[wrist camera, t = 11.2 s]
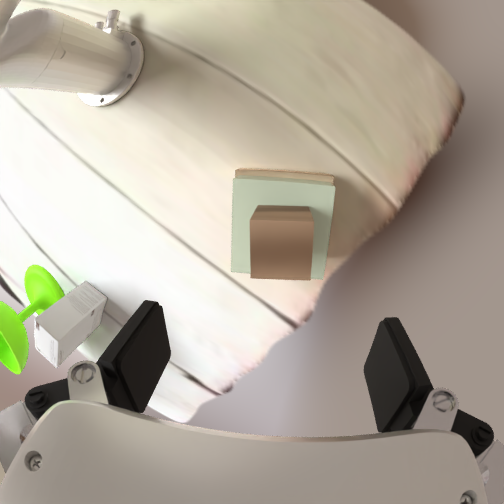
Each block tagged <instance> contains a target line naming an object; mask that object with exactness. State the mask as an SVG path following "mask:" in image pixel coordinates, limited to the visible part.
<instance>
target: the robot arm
mask: <svg viewBox="0 0 504 504" xmlns="http://www.w3.org/2000/svg"><path fill="white" fill-rule="evenodd" d="M20 1H21V0H0V88H29V89H43V90H54V91H63V92H71V93H78V95H79V97H80V98H81V100H82V101H83V102H84V103H86V104H88V105H91V106H100V107H101V106H106V105H109V104H111V103H114V102H115V101H117V100H118V99H120V98H121V97H122V96H123V95H125V94H126V93H127V92H128V90H129V89H130V88H131V87H132V85H133V84H134V83H135V81H136V79H137V77H138V76H139V74H140V71H141V68H142V65H143V60H144V50H143V45H142V43H141V41H140V40H139V39H138V38H137V37H136V36H135V35H133V34H132V33H129V32H126V31H118V28H119V27H118V26H117V22H118V19H119V14H120V11H119V10H111V11H109V12H108V15H107V19H106V26H105V27H104V28H103V24H104V23H103V22H97V23H96V24H95V27H94V26H92V25H90V24H87V23H85V22H83V21H80V20H78V19H76V18H73V17H71V16H68V15H66V14H63V13H60V12H58V11H55V10H52V9H47V8H40V9H33V10H29V11H26V12H24V13H21V14H19V15H16V16H14V17H12V18H10V17H11V15H12V14H13V11H14V10H15V8H16V7H17V5H18V4H19V2H20ZM170 356H171V350H170V345H169V340H168V335H167V330H166V324H165V319H164V313H163V308H162V306H160V305H159V303H158V302H155V301H148V300H145V301H144V302H143V303H142V304H141V305H140V307H139V308H138V309H137V310H136V312H135V313H134V314H133V315H132V317H131V318H130V319H129V320H128V322H127V323H126V324H125V325H124V327H123V328H122V329H121V331H120V332H119V333H118V334H117V336H116V337H115V338H114V340H113V341H112V342H111V343H110V345H109V346H108V347H107V349H106V350H105V351H104V353H103V354H102V355H101V357H100V358H99V360H98V361H97V363H94V362H92V361H80V362H78V363H76V364H74V365H73V366H72V367H71V368H70V369H69V371H68V378H66V379H63V380H59V381H56V382H52V383H48V384H45V385H41V386H37V387H34V388H32V389H31V390H30V391H29V392H28V393H27V394H26V397H25V402H22V401H21V400H20V401H18V402H17V403H15V404H13V405H11V406H9V407H8V408H6V409H4V410H2V411H0V461H1V464H2V466H3V468H4V471H5V473H6V475H5V476H4V479H3V481H2V483H1V485H0V504H502V503H503V502H504V445H503V444H502V443H501V442H500V441H498V440H496V441H494V440H493V439H494V433H493V430H492V428H491V427H490V426H489V425H488V424H487V423H485V422H483V421H481V420H479V419H477V418H475V417H473V416H471V415H469V414H467V413H465V412H463V411H461V410H459V409H458V405H459V402H458V398H457V397H456V395H455V394H454V393H453V392H452V391H450V390H449V389H446V388H436V389H434V388H433V386H432V384H431V382H430V379H429V377H428V375H427V373H426V371H425V369H424V367H423V364H422V363H421V361H420V358H419V356H418V354H417V353H416V350H415V349H414V346H413V345H412V343H411V341H410V339H409V337H408V335H407V333H406V331H405V330H404V327H403V326H402V324H401V322H400V320H399V319H398V318H397V317H392V318H385V319H384V320H383V321H381V322H380V323H379V326H378V329H377V333H376V335H375V339H374V341H373V344H372V347H371V349H370V352H369V355H368V357H367V360H366V363H365V365H364V375H365V379H366V382H367V386H368V390H369V394H370V398H371V402H372V406H373V411H374V415H375V420H376V424H377V429H378V431H379V432H382V433H377V434H367V435H355V436H339V437H280V436H263V435H252V434H242V433H234V432H226V431H219V430H213V429H206V428H201V427H195V426H190V425H185V424H181V423H176V422H172V421H168V420H164V419H160V418H155V417H151V416H148V415H144V414H140V413H143V412H144V410H145V408H146V406H147V404H148V402H149V400H150V398H151V396H152V394H153V392H154V390H155V388H156V386H157V384H158V381H159V379H160V377H161V375H162V373H163V371H164V369H165V367H166V365H167V363H168V361H169V359H170Z"/></svg>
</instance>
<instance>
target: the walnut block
mask: <svg viewBox="0 0 504 504" xmlns="http://www.w3.org/2000/svg"><path fill="white" fill-rule="evenodd" d="M313 238H314V219H313V217H312V214H311V211H310V209H309V206H282V205H258V206H257V207H256V209H255V211H254V213H253V215H252V216H251V218H250V269H251V278H256V279H283V280H311V267H312V253H313Z"/></svg>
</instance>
